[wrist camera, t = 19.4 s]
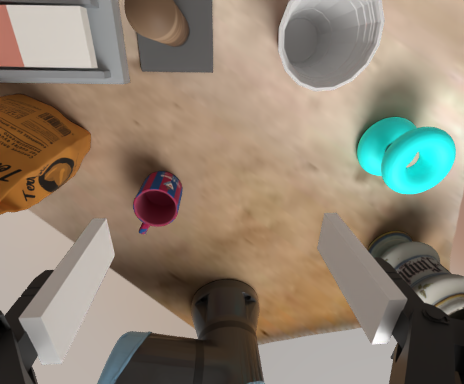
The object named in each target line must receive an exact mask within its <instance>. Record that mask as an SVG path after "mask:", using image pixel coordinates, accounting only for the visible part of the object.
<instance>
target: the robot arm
mask: <svg viewBox="0 0 464 384" xmlns="http://www.w3.org/2000/svg"><path fill="white" fill-rule="evenodd" d="M317 249H318V251H319V252H320V254H321V256H322V258H323V260H324V261H325V263H326V265H327V267H328V268H329V270H330V272H331V274H332V275H333V277H334V279H335V281H336V282H337V284H338V286H339V288H340V290H341V291H342V293H343V295H344V297H345V298H346V300H347V302H348V304H349V305H350V307H351V309H352V311H353V312H354V314H355V316H356V318H357V320H358V321H359V323H360V325H361V327H362V328H363V330H364V332H365V334H366V335H367V337H368V339H369V341H370V342H371V344H384V343H388V342H389V340H390V338H391V336H392V335H393V336H394V338H395V339H396V341H397V342H398V343H397V345H396V347H395V349H394V351H393V354H392V356H391V359H393V364H392V370H391V376H390V381H389V384H464V321H463V320H458V319H454V318H450V317H449V316H448V315H447V314H446V313H445V312H444V311H442V310H441V309H440V308H438V307H436V306H434V305H431V304H428V303H424V302H423V300H422V299H421V298H420V297H419V296H418V295H417V294H416V293H415V291H414V290H413V289H412V288H411V287H410V286H409V285H408V284H407V282H406V281H405V280H403V278H402V277H401V276H400V274H399V273H397V271H396V270H395V269H394V268H393V267H392V265H391V264H390V263H388V262H387V261H385V260H384V259H382V258H381V257H374V258H373V257H372V255H371V254H370V253H369V252H368V250H367V249H366V248H365V247H364V246H363V244H362V243H361V242H360V241H359V240H358V238H357V237H356V236H355V235H354V234H353V232H352V231H351V230H350V229H349V227H348V226H347V225H346V224H345V223H344V221H343V220H342V219H341V218H340V217H339V215H338V214H337V213H324V218H323V222H322V227H321V232H320V237H319V242H318V247H317ZM114 256H115V253H114V249H113V244H112V240H111V236H110V232H109V227H108V223H107V219H106V218H95V219H92V220H91V222H90V223H89V224H88V226H87V227H86V228H85V230H84V231H83V232H82V234H81V235H80V236H79V238H78V239H77V240H76V242H75V243H74V244H73V246H72V247H71V249H70V250H69V251H68V253H67V254H66V255H65V257H64V258H63V259H62V261H61V262H60V263H59V265H58V266H57V267H56V269H55V270H45V271H44V272H43V273H41V274H40V275H39V276H38V277H36V278H35V279H34V280H33V281H32V282H31V284H30V285H29V286H28V287H27V289H26V290H25V291H24V292H23V294H22V295H21V297H19V298H18V300H17V301H16V302H15V303H14V305H13V306H12V307H11V308H10V310H9V311H8V312H7V313H6V315H5V316H4V314H3V313H2V312H1V311H0V384H38V383H37V379H36V376H35V372H34V370H33V368H32V365H33V363H34V361H35V359H36V358H37V356H38V358H39V360H40V362H41V364H42V365H45V364H61V363H62V362H63V360H64V358H65V356H66V354H67V352H68V350H69V348H70V346H71V344H72V341H73V340H74V338H75V336H76V333H77V332H78V329H79V328H80V326H81V323H82V321H83V319H84V317H85V315H86V313H87V311H88V309H89V307H90V305H91V303H92V301H93V299H94V297H95V295H96V293H97V291H98V289H99V287H100V285H101V283H102V281H103V278H104V277H105V275H106V273H107V270H108V269H109V267H110V264H111V262H112V260H113V258H114ZM191 316H192V320H193V323H194V326H195V330H196V333H197V336H198V339H193V338H185V337H177V336H169V335H162V334H156V333H152V332H133V331H132V332H127V333H125V334H123V335H122V336H121V337H120V338H119V340H118V341H117V343H116V344H115V346H114V348H113V350H112V352H111V354H110V356H109V358H108V360H107V362H106V364H105V367H104V369H103V371H102V374H101V376H100V378H99V381H98V383H97V384H265V383H264V378H263V373H262V367H261V361H260V355H259V350H258V344H257V338H256V328H257V322H258V316H259V302H258V297H257V294H256V293H255V291H254V290H253V289H252V288H251V287H250V286H248V285H247V284H245V283H243V282H240V281H236V280H219V281H214V282H211V283H209V284H207V285H205V286H203V287H202V288H201V289H199V290H198V291H197V292H196V294H195V295H194V297H193V300H192V306H191Z"/></svg>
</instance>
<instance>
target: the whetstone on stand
mask: <svg viewBox="0 0 464 384" xmlns="http://www.w3.org/2000/svg"><path fill="white" fill-rule="evenodd" d="M0 5H46V6H81V7H84V8H86V9H87V14H88V20H89V25H90V30H91V35H92V40H93V46H94V51H95V56H96V61H97V66H98V68H58V67H7V66H0V83H75V84H126V83H130V78H129V71H128V64H127V57H126V50H125V44H124V37H123V30H122V23H121V16H120V9H119V2H118V0H0Z"/></svg>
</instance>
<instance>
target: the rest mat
mask: <svg viewBox="0 0 464 384" xmlns="http://www.w3.org/2000/svg"><path fill="white" fill-rule="evenodd" d="M173 1H174V2H175V4H176V5H177V7H178V8H179V10H180V11H181V13H182V14H183V16H184V17H185V19H186V20H187V22H188V24H189V28H190V35H189V38H188V40H187V42H186V43H185V44H184V45H183V46H180V47H172V46H169V45H166V44H163V43H160V42H158V41H155V40H152V39H149V38H147V37H144V36H142V35H140V34H139V33H137V36H138V44H139V52H140V60H141V68H142V71H148V72H212V73H213V29H212V0H173Z"/></svg>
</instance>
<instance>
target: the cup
mask: <svg viewBox="0 0 464 384" xmlns="http://www.w3.org/2000/svg"><path fill="white" fill-rule="evenodd" d="M181 196H182V185H181V182H180V181H179V179H178V178H177V177H176V176H174V175H173V174H171V173H169V172H165V171H158V172H154V173H152V174H150V175H149V176H148V177H147V178H146V179H145V181H144V183H143V185H142V186H141V188H140V190H139V192H138V194H137V196H136V197H135V199H134V203H133V209H134V212H135V214H136V216H137V217H138V218H139V219H140V220H141V221H142V222H143V223H142V225H141V227H140V229H139V233H141V234H145V233H146V232H147V230H148V228H149V226H165V225H167V224H169V223H171V222H172V221H173V220H174V219H175V218H176V216H177V214H178V210H179V205H180V200H181Z"/></svg>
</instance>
